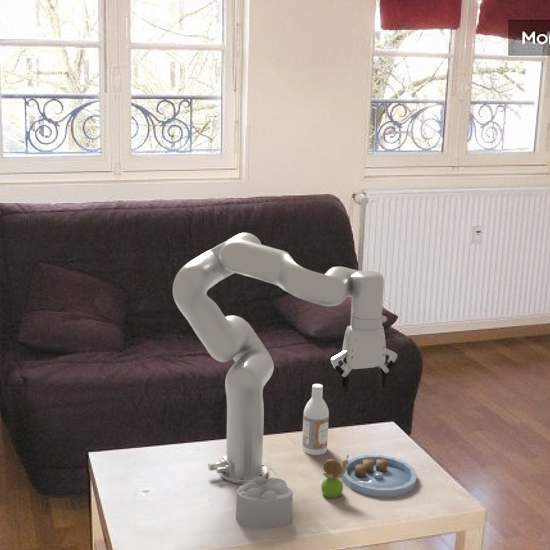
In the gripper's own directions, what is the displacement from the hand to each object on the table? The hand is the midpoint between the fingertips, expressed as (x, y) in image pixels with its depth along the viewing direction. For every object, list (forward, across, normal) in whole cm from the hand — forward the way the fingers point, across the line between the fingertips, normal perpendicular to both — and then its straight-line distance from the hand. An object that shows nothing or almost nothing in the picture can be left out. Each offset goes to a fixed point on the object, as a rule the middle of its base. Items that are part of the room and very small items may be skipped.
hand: (362, 388), depth 218 cm
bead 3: (+27, -10, -8) cm, 30 cm away
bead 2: (+27, -6, -8) cm, 29 cm away
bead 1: (+27, -3, -6) cm, 28 cm away
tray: (+28, -7, -4) cm, 30 cm away
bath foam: (+28, +3, -23) cm, 37 cm away
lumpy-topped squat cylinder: (+28, +27, +6) cm, 40 cm away
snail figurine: (+28, +7, +1) cm, 29 cm away
